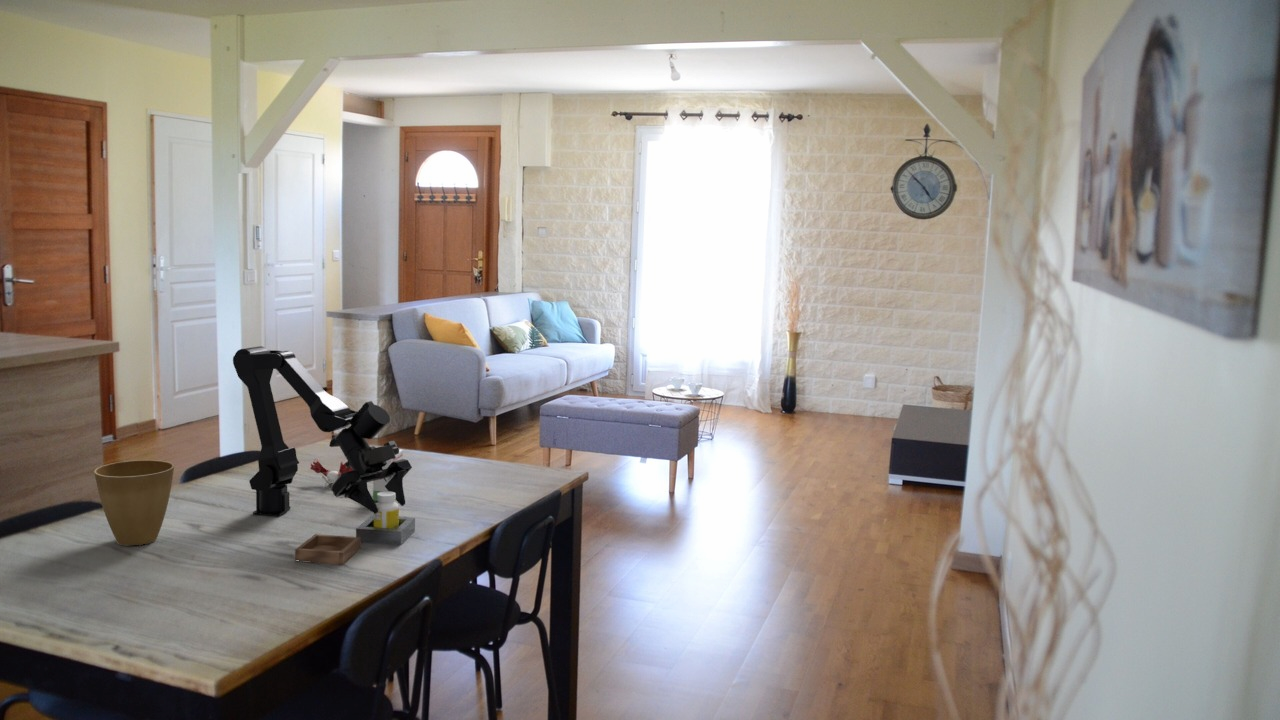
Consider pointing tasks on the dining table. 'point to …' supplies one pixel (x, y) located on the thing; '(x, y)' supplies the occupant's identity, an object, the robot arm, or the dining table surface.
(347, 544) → the walnut tray
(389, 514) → the supplement bottle
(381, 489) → the ink box
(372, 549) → the dining table surface
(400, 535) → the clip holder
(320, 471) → the figurine
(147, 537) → the plant pot
